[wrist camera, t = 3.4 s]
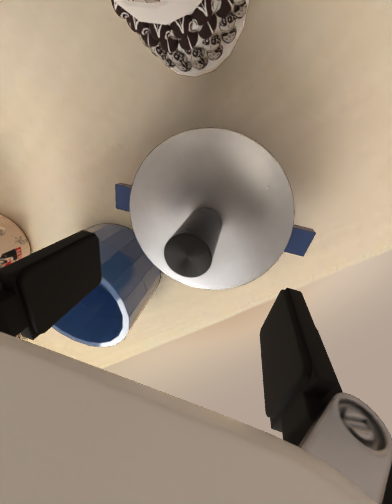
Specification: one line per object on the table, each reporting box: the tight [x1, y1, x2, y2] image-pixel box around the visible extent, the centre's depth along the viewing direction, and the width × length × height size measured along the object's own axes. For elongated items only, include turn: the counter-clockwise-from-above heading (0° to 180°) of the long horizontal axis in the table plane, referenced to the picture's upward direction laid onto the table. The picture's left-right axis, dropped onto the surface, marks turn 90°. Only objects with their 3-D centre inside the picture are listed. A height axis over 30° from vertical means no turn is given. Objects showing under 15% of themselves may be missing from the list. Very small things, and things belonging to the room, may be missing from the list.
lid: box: [130, 127, 295, 290], centre depth 15 cm, size 14×14×7 cm
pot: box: [52, 223, 161, 347], centre depth 25 cm, size 13×13×9 cm
